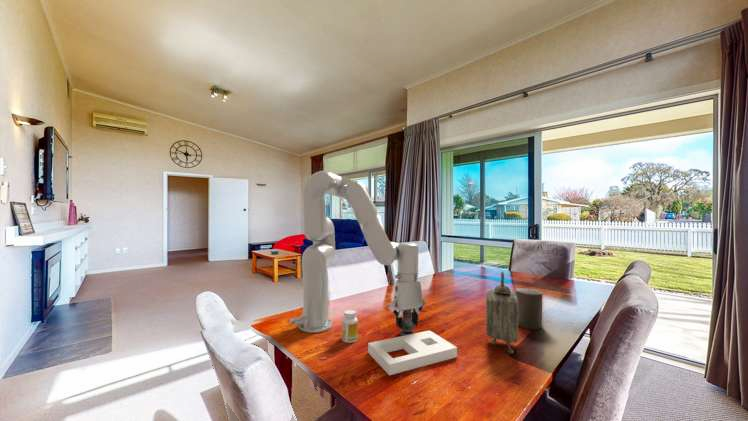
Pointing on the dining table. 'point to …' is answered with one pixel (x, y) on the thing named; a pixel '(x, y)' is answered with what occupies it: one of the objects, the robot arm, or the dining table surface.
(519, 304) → the pillar candle
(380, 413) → the dining table surface
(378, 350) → the socket board
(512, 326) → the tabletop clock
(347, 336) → the supplement bottle
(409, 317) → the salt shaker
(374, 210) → the robot arm
